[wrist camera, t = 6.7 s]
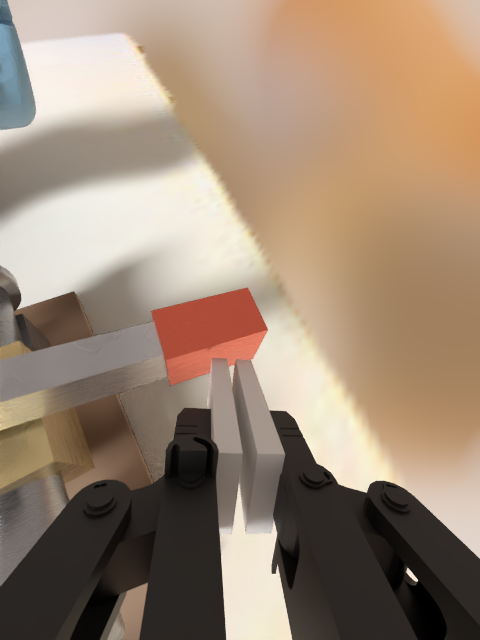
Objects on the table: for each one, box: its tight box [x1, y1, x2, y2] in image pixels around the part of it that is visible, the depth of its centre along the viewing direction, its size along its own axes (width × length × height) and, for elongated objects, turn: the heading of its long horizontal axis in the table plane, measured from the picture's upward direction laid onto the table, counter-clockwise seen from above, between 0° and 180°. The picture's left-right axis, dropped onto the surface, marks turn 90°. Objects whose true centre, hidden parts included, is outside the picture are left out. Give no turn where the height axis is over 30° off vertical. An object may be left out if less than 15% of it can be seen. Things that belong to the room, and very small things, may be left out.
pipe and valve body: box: [0, 266, 125, 640], centre depth 18 cm, size 23×7×10 cm, turn 30°
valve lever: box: [0, 288, 268, 430], centre depth 14 cm, size 17×4×4 cm, turn 111°
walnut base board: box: [14, 292, 154, 640], centre depth 23 cm, size 28×12×2 cm, turn 30°
